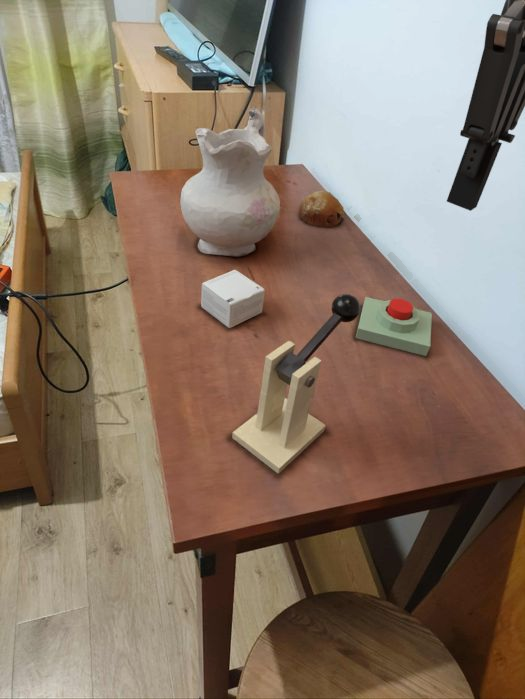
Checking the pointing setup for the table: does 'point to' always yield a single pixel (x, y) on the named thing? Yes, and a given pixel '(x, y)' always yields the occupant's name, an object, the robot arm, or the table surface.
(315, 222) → the bread roll
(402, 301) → the button
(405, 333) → the button block
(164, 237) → the table surface
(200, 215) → the ceramic pitcher
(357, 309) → the lever
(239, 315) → the small box
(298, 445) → the cream lever bracket
